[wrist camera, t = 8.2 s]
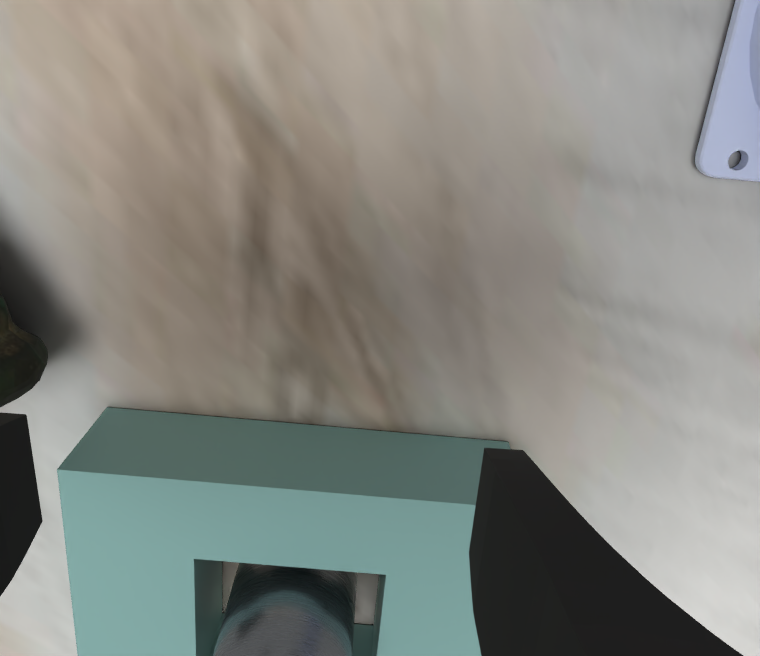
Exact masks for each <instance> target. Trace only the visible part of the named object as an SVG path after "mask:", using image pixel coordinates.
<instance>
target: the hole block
mask: <svg viewBox="0 0 760 656" xmlns="http://www.w3.org/2000/svg"><path fill="white" fill-rule="evenodd" d="M484 448H498V449H510V446H509V442H504V441H492V440H480V439H469V438H457V437H446V436H434V435H422V434H411V433H399V432H388V431H376V430H365V429H353V428H341V427H330V426H318V425H307V424H295V423H283V422H272V421H260V420H249V419H237V418H226V417H214V416H202V415H191V414H179V413H168V412H156V411H144V410H133V409H121V408H110V407H107V408H106V409H105V411H104V412H103V413H102V414H101V416H100V417H99V418H98V419H97V421H96V422H95V423H94V424H93V426H92V427H91V428H90V429H89V431H88V432H87V433H86V434H85V435H84V437H83V438H82V439H81V440H80V442H79V443H78V444H77V445H76V447H75V448H74V449H73V450H72V452H71V453H70V454H69V455H68V457H67V458H66V459H65V460H64V462H63V463H62V464H61V465H60V467H59V468H58V469H57V473H58V482H59V491H60V500H61V509H62V518H63V527H64V536H65V545H66V554H67V563H68V572H69V581H70V590H71V599H72V608H73V617H74V626H75V635H76V644H77V653H78V656H213V653H214V650H215V646H216V643H217V639H218V636H219V632H220V629H221V625H222V622H223V618H224V615H225V613H222V561H226V562H238V563H251V564H263V565H275V566H287V567H299V568H311V569H323V570H335V571H347V572H359V573H371V574H379V580H378V589H377V598H376V607H375V616H374V625H361V624H354V635H353V652H352V656H481V651H480V646H479V640H478V635H477V630H476V625H475V619H474V614H473V604H472V591H471V578H470V562H469V547H470V540H471V534H472V527H473V520H474V514H475V507H476V500H477V493H478V487H479V480H480V473H481V466H482V460H483V453H484Z"/></svg>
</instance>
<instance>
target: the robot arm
mask: <svg viewBox="0 0 760 656" xmlns="http://www.w3.org/2000/svg"><path fill="white" fill-rule="evenodd" d="M735 151H740V153H741V161H740V162H739V164H738V165H737V166H735V167H734V168H730V167H729V166H728V159H729V157H730V155H731V154H732V153H734V152H735ZM695 164H696V167H697V169H698V170H699V171H700V172H701V173H702V174H705V175H707V176H710V177H714V178H725V179H735V180H746V181H757V182H760V0H736V1H735V4H734V8H733V12H732V16H731V20H730V24H729V28H728V31H727V35H726V39H725V43H724V47H723V51H722V55H721V58H720V62H719V66H718V70H717V74H716V78H715V82H714V85H713V89H712V93H711V97H710V101H709V105H708V109H707V112H706V116H705V120H704V124H703V128H702V132H701V136H700V139H699V143H698V147H697V151H696V155H695ZM41 523H42V515H41V509H40V502H39V496H38V489H37V482H36V476H35V469H34V462H33V456H32V449H31V442H30V436H29V429H28V423H27V416H26V415H25V414H11V413H0V596H1V595H2V593H3V592H4V590H5V589H6V587H7V586H8V584H9V583H10V581H11V580H12V578H13V577H14V575H15V573H16V571H17V569H18V568H19V566H20V564H21V562H22V560H23V558H24V557H25V555H26V553H27V551H28V549H29V547H30V545H31V543H32V541H33V539H34V537H35V535H36V533H37V531H38V529H39V527H40V525H41ZM469 562H470V578H471V591H472V604H473V614H474V619H475V625H476V630H477V635H478V640H479V646H480V651H481V656H743V655H741V654H740V653H739V652H737V651H736V650H734V649H733V648H732V647H730V646H729V645H727V644H726V643H725V642H723V641H722V640H721V639H719V638H718V637H717V636H715V635H714V634H713V633H711V632H710V631H709V630H707V629H706V628H705V627H704V626H702V625H701V624H700V623H699V622H697V621H696V620H695V619H694V618H692V617H691V616H690V615H689V614H687V613H686V612H685V611H684V610H682V609H681V608H680V607H679V606H677V605H676V604H675V603H674V602H672V601H671V600H670V599H669V598H667V597H666V596H665V595H664V594H663V593H662V592H660V591H659V590H658V589H657V588H656V587H655V586H653V585H652V584H651V583H650V582H649V581H648V580H647V579H646V578H644V577H643V576H642V575H641V574H640V573H639V572H638V571H637V570H636V569H635V568H634V567H633V566H632V565H631V564H629V563H628V562H627V561H626V560H625V559H624V558H623V557H622V556H621V555H620V554H619V553H618V552H617V551H616V550H614V549H613V548H612V547H611V546H610V545H609V544H608V543H607V542H606V541H605V540H604V539H603V538H602V537H601V536H600V535H599V534H598V533H597V531H596V530H595V529H594V528H593V527H592V526H591V525H590V524H589V523H588V522H587V521H586V520H585V519H584V518H583V517H582V516H581V515H580V514H579V513H578V512H577V510H576V509H575V508H574V507H573V506H572V505H571V504H570V503H569V502H568V501H567V499H566V498H565V497H564V496H563V495H562V494H561V493H560V492H559V490H558V489H557V488H556V487H555V486H554V485H553V484H552V483H551V481H550V480H549V479H548V478H547V477H546V476H545V475H544V473H543V472H542V471H541V470H540V469H539V468H538V466H537V465H536V464H535V463H534V462H533V461H532V460H531V458H530V457H529V456H528V455H527V454H526V453H525V452H524V451H523V450H512V449H498V448H484V453H483V460H482V466H481V473H480V480H479V487H478V493H477V500H476V507H475V514H474V520H473V527H472V534H471V540H470V547H469Z"/></svg>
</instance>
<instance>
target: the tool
mask: <svg viewBox="0 0 760 656" xmlns="http://www.w3.org/2000/svg"><path fill="white" fill-rule="evenodd" d="M47 359H48V354H47V349H46V347H45V345H44V343H43V342H42V340H41V339H40V338H39V337H36V336H34V335H32V334H30V333H27V332H25V331H23V330H22V329H21V328H19V327H18V326H17V325H15V324H14V323H13V321H12V318H11V316H10V313H9V310H8V307H7V304H6V302H5V300H4V298H3V296H2V295H1V294H0V407H2V406H4V405H5V404H7V403H9V402H11V401H13V400H15V399H17V398H19V397H20V396H22V395H23V394H25V393H26V392H28V391H29V390H31V389H32V388H33V387H34V386H35V384H36V383H37V382H38V381H40V378H41V376H42V373H43V371H44V369H45V367H46V365H47Z"/></svg>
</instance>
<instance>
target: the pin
mask: <svg viewBox="0 0 760 656" xmlns="http://www.w3.org/2000/svg"><path fill="white" fill-rule="evenodd" d="M356 583H357V572H347V571H335V570H323V569H311V568H299V567H287V566H275V565H263V564H251V563H239V565H238V569H237V572H236V576H235V579H234V583H233V587H232V590H231V594H230V597H229V601H228V604H227V608H226V611H225V615H224V618H223V622H222V625H221V629H220V632H219V636H218V639H217V643H216V646H215V650H214V653H213V656H352V652H353V635H354V618H355V600H356Z"/></svg>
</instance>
